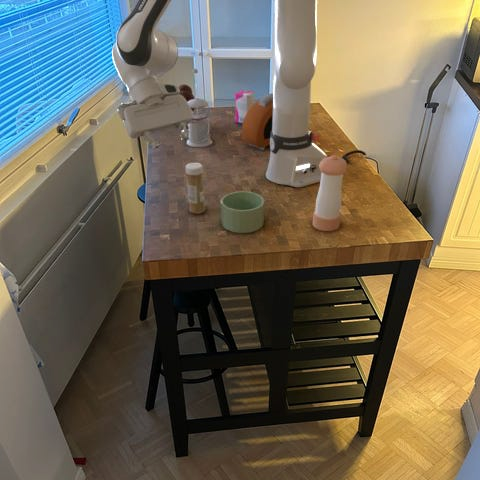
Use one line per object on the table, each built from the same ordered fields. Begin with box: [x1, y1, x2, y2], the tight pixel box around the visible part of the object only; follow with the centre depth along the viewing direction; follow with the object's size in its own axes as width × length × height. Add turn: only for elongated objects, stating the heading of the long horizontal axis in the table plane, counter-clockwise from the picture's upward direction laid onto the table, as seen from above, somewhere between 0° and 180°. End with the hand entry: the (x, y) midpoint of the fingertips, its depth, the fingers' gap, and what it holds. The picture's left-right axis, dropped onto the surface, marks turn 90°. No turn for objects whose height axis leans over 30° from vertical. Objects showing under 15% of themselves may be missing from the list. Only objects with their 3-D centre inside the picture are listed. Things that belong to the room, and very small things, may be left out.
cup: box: [220, 190, 265, 234], centre depth 129 cm, size 12×12×6 cm
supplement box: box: [234, 90, 255, 125], centre depth 191 cm, size 6×6×12 cm
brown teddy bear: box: [178, 84, 196, 128], centre depth 188 cm, size 11×11×15 cm
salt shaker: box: [312, 154, 348, 232], centre depth 123 cm, size 7×7×19 cm
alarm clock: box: [241, 92, 273, 151], centre depth 172 cm, size 23×9×17 cm, turn 129°
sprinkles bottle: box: [185, 162, 206, 215], centre depth 132 cm, size 5×5×14 cm
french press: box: [186, 68, 213, 148], centre depth 170 cm, size 10×12×25 cm
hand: (171, 143), depth 132 cm, fingers open, 8 cm apart
